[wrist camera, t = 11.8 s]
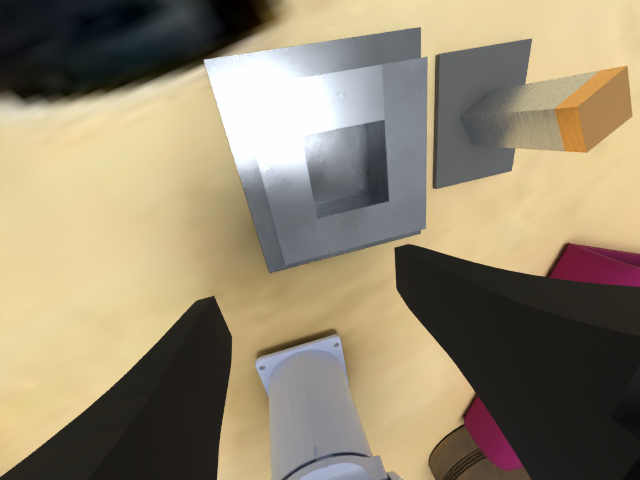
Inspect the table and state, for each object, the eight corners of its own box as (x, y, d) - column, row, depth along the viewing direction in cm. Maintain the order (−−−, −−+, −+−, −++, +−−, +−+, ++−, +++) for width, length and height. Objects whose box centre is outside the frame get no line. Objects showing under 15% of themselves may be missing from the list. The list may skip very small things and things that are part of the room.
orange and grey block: (472, 145, 19) (586, 152, 12) (459, 116, 18) (577, 106, 11) (500, 122, 19) (632, 116, 12) (489, 90, 18) (627, 65, 11)
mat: (507, 170, 21) (511, 170, 21) (433, 188, 20) (436, 188, 20) (526, 40, 17) (532, 38, 17) (436, 55, 17) (439, 53, 16)
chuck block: (416, 231, 22) (443, 248, 18) (269, 269, 20) (270, 295, 17) (415, 30, 16) (455, 4, 13) (205, 62, 14) (189, 41, 11)
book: (455, 415, 36) (501, 481, 29) (558, 239, 27) (661, 275, 20) (556, 405, 42) (613, 458, 35) (671, 257, 32) (781, 290, 25)
